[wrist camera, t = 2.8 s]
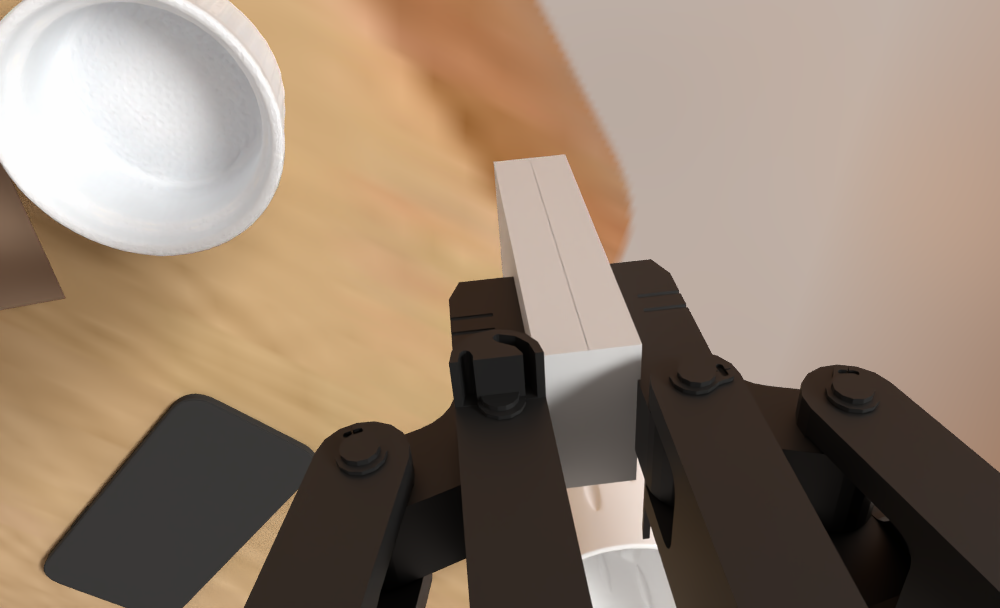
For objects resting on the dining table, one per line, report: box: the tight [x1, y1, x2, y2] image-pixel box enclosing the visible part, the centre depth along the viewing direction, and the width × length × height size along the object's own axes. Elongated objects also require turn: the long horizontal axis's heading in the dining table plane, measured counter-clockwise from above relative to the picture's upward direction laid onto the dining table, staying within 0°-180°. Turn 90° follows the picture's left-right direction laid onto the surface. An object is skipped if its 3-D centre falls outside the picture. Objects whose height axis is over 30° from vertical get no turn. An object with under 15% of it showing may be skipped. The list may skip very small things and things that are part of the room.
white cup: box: [566, 458, 676, 608], centre depth 34 cm, size 8×8×10 cm
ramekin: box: [0, 0, 285, 256], centre depth 26 cm, size 9×9×4 cm
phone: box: [44, 394, 315, 608], centre depth 39 cm, size 7×1×15 cm
